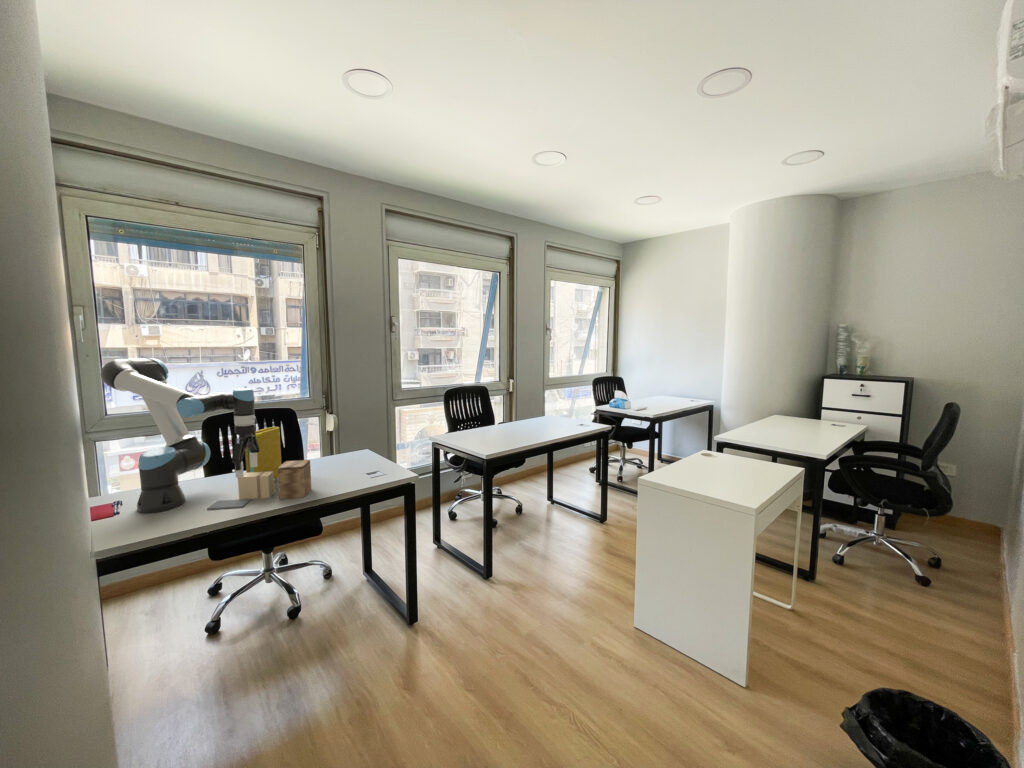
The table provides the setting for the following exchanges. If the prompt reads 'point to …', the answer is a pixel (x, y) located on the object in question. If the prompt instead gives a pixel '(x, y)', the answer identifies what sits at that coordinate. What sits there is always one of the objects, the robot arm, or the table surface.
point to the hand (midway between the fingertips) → (247, 471)
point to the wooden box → (294, 479)
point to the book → (266, 451)
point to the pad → (229, 504)
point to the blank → (256, 485)
